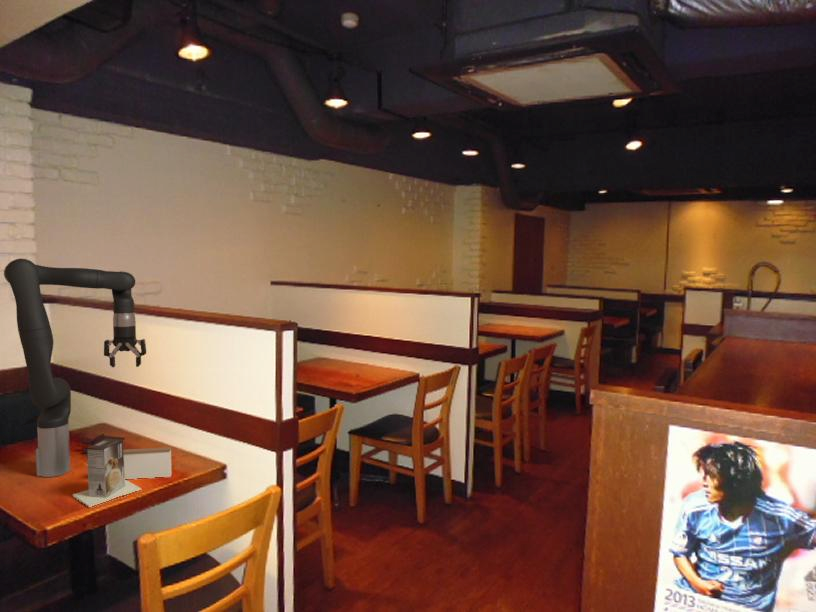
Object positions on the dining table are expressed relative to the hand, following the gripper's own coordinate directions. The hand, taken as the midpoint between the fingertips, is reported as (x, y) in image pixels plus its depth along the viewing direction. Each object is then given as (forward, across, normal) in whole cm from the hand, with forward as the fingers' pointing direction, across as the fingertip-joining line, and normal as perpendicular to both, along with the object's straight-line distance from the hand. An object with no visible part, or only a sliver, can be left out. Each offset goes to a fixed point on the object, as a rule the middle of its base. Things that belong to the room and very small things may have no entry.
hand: (125, 366), depth 210 cm
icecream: (+34, -10, +5) cm, 36 cm away
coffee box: (+34, +3, -37) cm, 50 cm away
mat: (+34, +3, -37) cm, 50 cm away
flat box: (+34, +9, -26) cm, 44 cm away
